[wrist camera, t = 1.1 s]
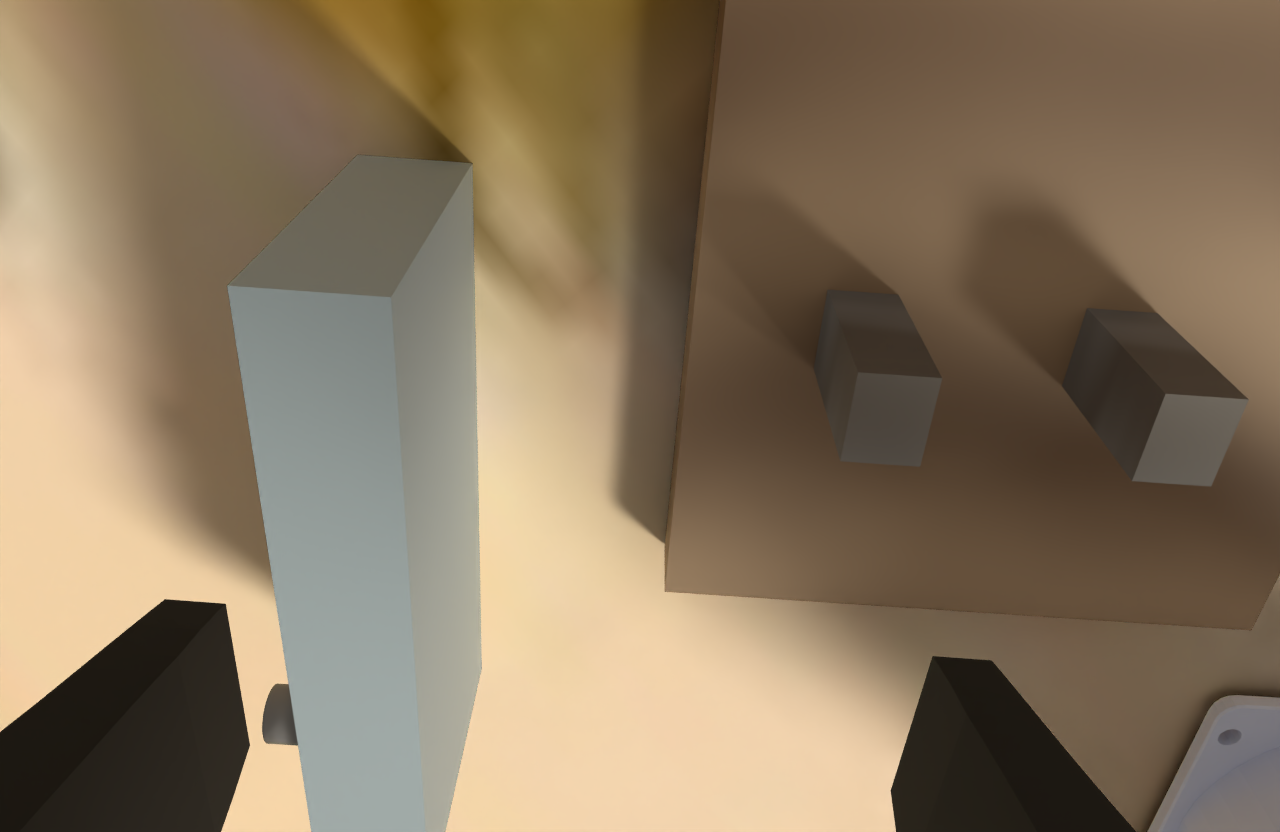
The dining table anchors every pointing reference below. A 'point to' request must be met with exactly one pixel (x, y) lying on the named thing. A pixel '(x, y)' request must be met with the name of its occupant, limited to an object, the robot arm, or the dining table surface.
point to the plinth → (987, 310)
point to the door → (370, 486)
